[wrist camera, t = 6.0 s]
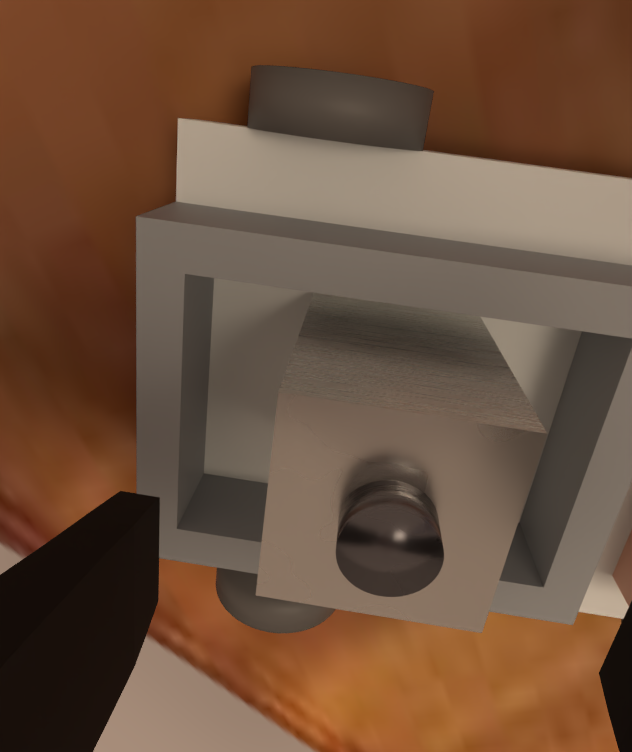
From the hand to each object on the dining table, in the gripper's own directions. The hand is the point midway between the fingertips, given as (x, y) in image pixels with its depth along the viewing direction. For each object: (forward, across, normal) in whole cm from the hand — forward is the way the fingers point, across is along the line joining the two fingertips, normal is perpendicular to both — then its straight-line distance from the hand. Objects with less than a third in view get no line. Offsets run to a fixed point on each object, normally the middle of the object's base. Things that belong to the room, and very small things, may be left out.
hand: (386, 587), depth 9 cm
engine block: (+7, 0, 0) cm, 7 cm away
